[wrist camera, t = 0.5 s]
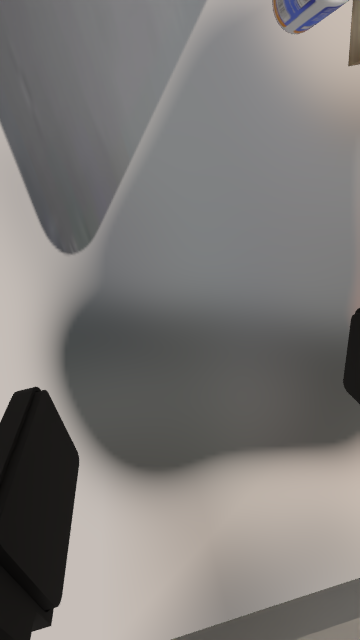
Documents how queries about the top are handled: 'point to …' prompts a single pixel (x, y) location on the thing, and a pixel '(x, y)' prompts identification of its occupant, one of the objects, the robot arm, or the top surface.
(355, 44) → the cabinet
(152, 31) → the top surface
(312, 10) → the pill bottle
